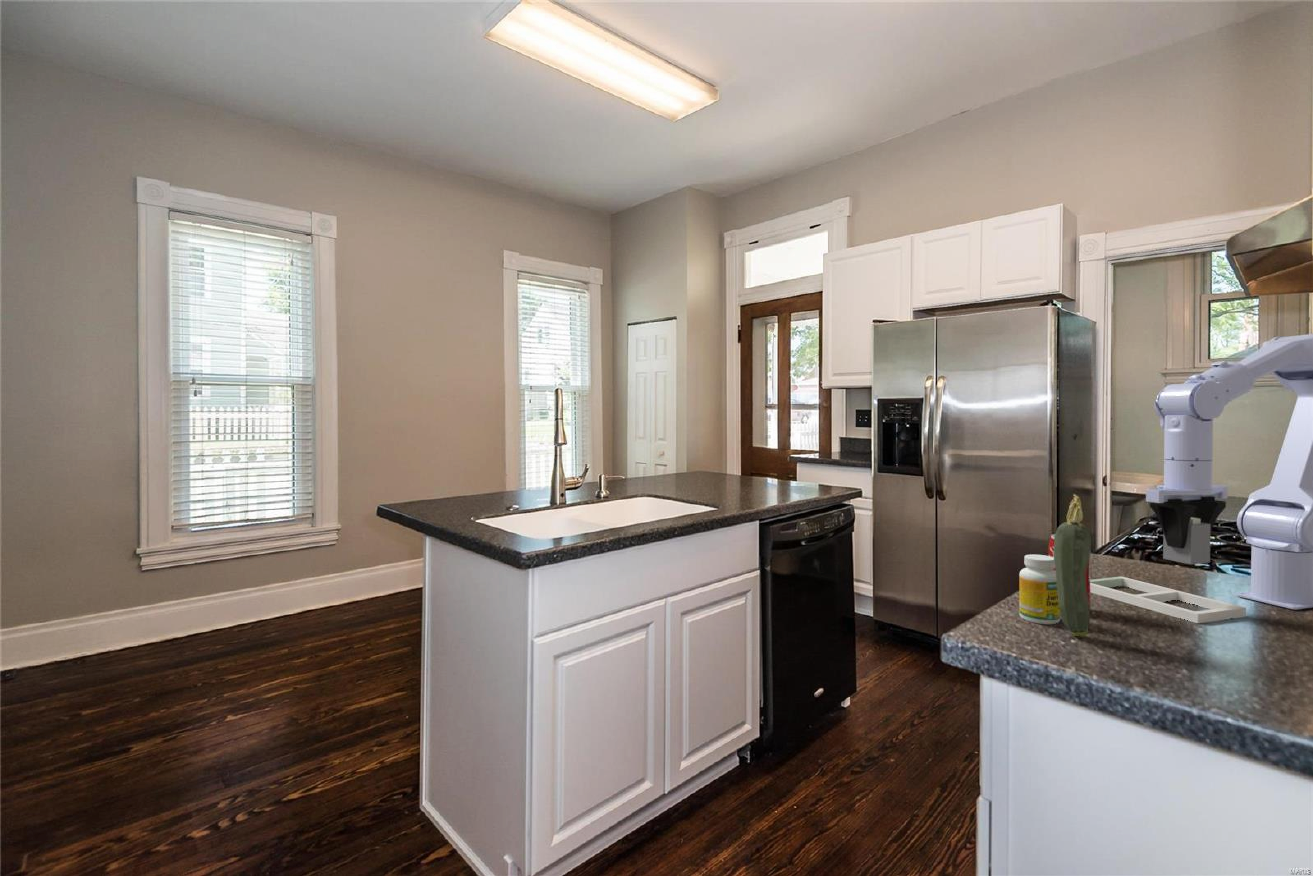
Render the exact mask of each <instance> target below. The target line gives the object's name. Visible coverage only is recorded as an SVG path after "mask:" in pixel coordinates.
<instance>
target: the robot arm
mask: <svg viewBox="0 0 1313 876" xmlns="http://www.w3.org/2000/svg"><path fill="white" fill-rule="evenodd" d="M1210 367H1211V368H1210V369H1207V370H1206V371H1203V372H1202V373H1199V374H1193V375H1191V376H1189V378H1188V380H1186V381H1184V383H1172V384H1169V385H1167V386H1165V387H1164V388H1163V389H1161V390H1160V391H1159V393H1158V394H1157V397H1156V401H1154V402H1153V405H1154V406H1153V407H1154V410H1155V412H1156V414H1157V415H1158V417H1159V421H1160V427H1161V430H1163V431H1164V432H1163V433H1164V434H1163V439H1164V441H1163V445H1164V446H1163V484H1159V485H1157V486H1156V487H1155V488H1147V489H1145V501H1146V502H1147V503H1148V502H1149V507H1150V509H1152V511H1153V513H1154V514H1155V516H1156V518H1157V519H1158V522H1159V525H1160V527H1161V529H1162V533H1163V536H1165V539H1166V543H1167V546H1171V547H1176V548H1184V547H1185V544H1186V540H1187V532H1188V526H1189V522H1190V519H1191V517H1192V518H1199V519H1201V521H1200V523H1207V524H1210V534H1211V533H1212V530H1213V528H1214V526H1215V522H1216V521H1217V519H1218V518H1219V516H1220V515H1221V514H1222V512H1223V511H1224V510H1225V508H1226V507H1227V506H1226V505H1227V502H1226V501H1225V500H1218V499H1228V498H1229V497H1228V495H1229V494H1228V492H1229V491H1228V490H1229V486H1227V485H1216V484H1213V448H1214V447H1213V444H1214V442H1213V438H1214V437H1213V436H1214V432H1213V431H1214V430H1213V429H1214V419H1218V418H1219V417H1220V416H1221V415H1222V413H1223V411H1224V408H1225V407H1226V405H1228V404H1229V403H1231V402H1232V401H1234V400H1237V399H1238V398H1240V397H1241V396H1244V395H1245V394H1248V393H1249V392H1251V390H1252V389H1253V388H1254V387H1255V386H1254V385H1255V381H1256V380H1259V379H1261V378H1263V377H1265V376H1268V375H1270V374H1272V375H1273V376H1274V378H1275V379H1276V380H1277V381H1278V383H1280V384H1281V386H1283V388H1284V389H1285V390H1289V391H1292V392H1294V393H1295V394H1296V396H1297V398H1296V402H1295V405H1294V408H1293V411H1292V415H1291V418H1290V421H1289V424H1288V426H1287V431H1286V433H1285V437H1284V439H1283V443H1282V446H1281V450H1280V453H1279V456H1278V458H1277V462H1276V465H1275V468H1274V470H1273V471H1274V472H1273V474H1272V477H1271V480H1270V483H1269V484H1268V485H1266V486H1265V487H1262V488H1259V489H1257V490H1256V491H1253V492H1252V493H1250V494H1249V496H1248V498H1247V501H1246V504H1244V506H1243V507H1242V508H1241V509H1240V510H1239V512H1238V514H1237V516H1236V517H1237V518H1236V526H1237V529H1238V531H1239V533H1240V535H1241V536H1243V537H1244V538H1245V542H1246V544H1249V545H1251V551H1250V553H1251V560H1250V591H1243V592H1242V591H1241V592H1236V596H1237V597H1240V598H1244V599H1248V600H1253V601H1257V602H1261V603H1265V604H1269V605H1273V606H1277V607H1282V608H1286V609H1290V610H1296V611H1297V610H1304V609H1312V608H1313V333H1309V334H1299V335H1291V336H1290V335H1289V336H1276V337H1273V338H1271V339H1270V340H1267V341H1264V342H1262V345H1261V347H1260V348H1259V349H1257V350H1256V351H1254V352H1253V353H1251V354H1249V355H1248V356H1246V357H1245V358H1243V359H1241V360H1240V361H1238V362H1236V361H1235V362H1234V361H1227V360H1222V361H1215V362H1213V363H1212V364H1210ZM1216 499H1217V500H1216Z"/></svg>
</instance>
